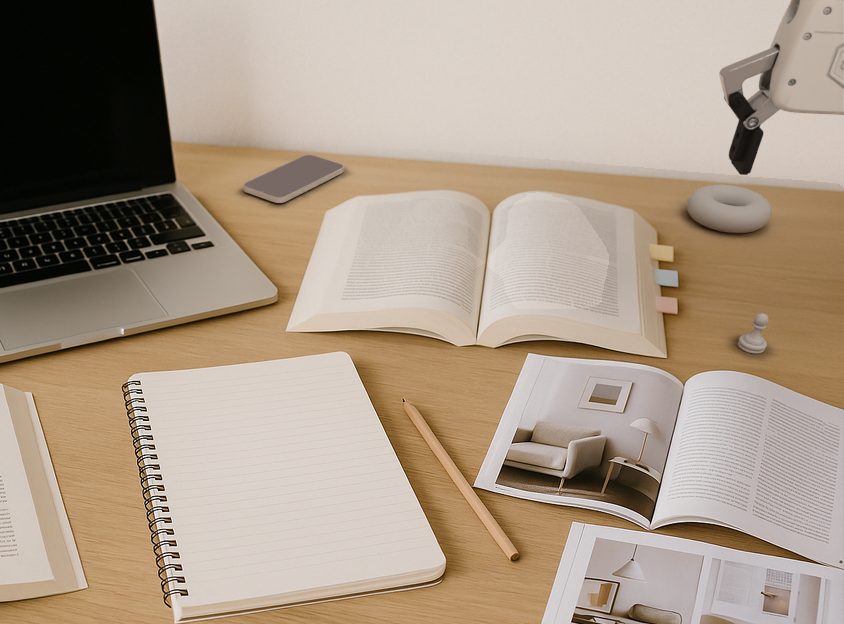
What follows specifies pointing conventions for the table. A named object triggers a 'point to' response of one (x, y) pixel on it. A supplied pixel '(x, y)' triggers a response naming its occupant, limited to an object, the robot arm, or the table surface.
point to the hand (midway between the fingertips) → (797, 171)
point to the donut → (729, 208)
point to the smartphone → (293, 178)
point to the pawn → (755, 336)
